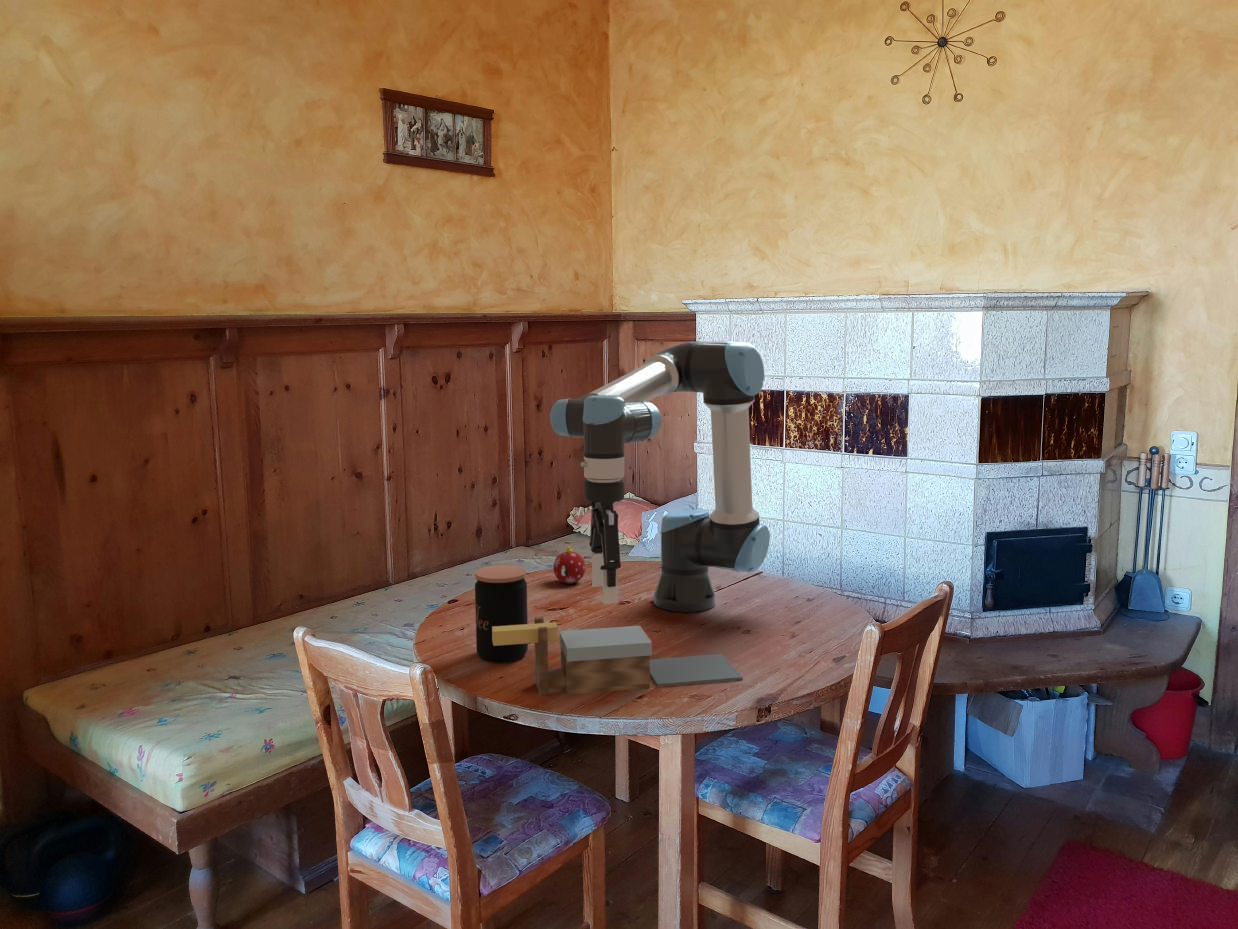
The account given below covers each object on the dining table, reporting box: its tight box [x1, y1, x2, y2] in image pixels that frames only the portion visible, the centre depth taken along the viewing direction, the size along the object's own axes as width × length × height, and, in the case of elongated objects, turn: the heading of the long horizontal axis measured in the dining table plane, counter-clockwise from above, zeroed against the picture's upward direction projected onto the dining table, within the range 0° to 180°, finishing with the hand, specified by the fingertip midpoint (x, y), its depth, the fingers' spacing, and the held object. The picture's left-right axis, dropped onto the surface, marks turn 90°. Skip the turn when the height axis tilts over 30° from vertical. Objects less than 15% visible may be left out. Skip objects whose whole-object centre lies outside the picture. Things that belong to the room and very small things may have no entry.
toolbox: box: [533, 617, 651, 698], centre depth 177 cm, size 21×7×13 cm, turn 102°
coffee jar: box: [474, 564, 529, 664], centre depth 193 cm, size 11×11×18 cm
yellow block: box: [492, 621, 559, 646], centre depth 174 cm, size 12×3×3 cm, turn 102°
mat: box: [650, 653, 744, 688], centre depth 185 cm, size 17×13×1 cm
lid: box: [559, 625, 653, 662], centre depth 178 cm, size 16×10×4 cm, turn 102°
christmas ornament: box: [552, 546, 587, 585], centre depth 248 cm, size 9×9×10 cm
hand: (604, 594), depth 176 cm, fingers open, 10 cm apart
